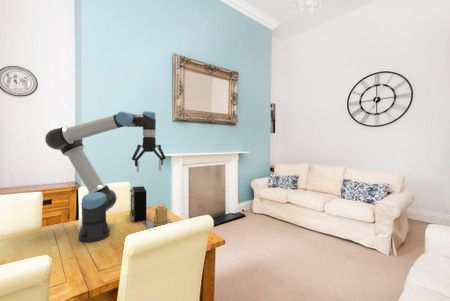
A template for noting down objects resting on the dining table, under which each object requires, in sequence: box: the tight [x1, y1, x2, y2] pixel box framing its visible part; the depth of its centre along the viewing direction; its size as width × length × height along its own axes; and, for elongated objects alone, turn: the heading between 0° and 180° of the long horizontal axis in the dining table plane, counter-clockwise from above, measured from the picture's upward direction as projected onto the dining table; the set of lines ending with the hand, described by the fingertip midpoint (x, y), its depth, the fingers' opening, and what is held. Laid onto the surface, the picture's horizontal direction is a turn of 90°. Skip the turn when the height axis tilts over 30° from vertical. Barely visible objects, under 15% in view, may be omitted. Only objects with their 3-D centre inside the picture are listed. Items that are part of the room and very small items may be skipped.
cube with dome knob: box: [154, 204, 168, 223], centre depth 153 cm, size 6×6×10 cm
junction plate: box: [142, 217, 174, 230], centre depth 149 cm, size 16×14×1 cm
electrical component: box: [129, 186, 147, 223], centre depth 160 cm, size 18×10×20 cm, turn 25°
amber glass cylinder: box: [153, 216, 157, 226], centre depth 144 cm, size 2×2×5 cm
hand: (149, 171), depth 144 cm, fingers open, 13 cm apart
